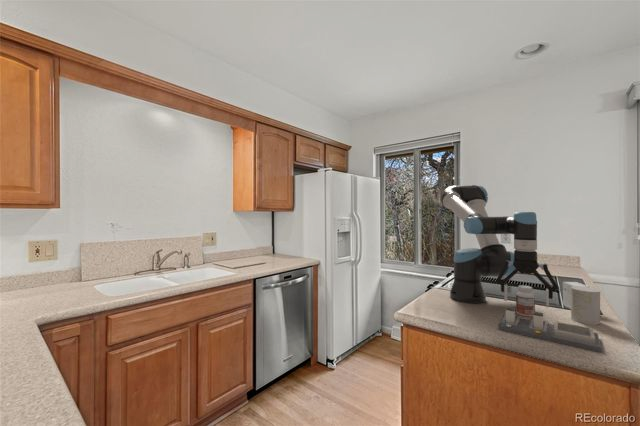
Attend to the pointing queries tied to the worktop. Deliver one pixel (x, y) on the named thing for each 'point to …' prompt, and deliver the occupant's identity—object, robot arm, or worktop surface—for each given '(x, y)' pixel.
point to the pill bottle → (525, 301)
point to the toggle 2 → (538, 320)
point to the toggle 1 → (510, 315)
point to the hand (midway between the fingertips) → (526, 303)
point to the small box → (569, 292)
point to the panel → (554, 333)
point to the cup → (585, 305)
